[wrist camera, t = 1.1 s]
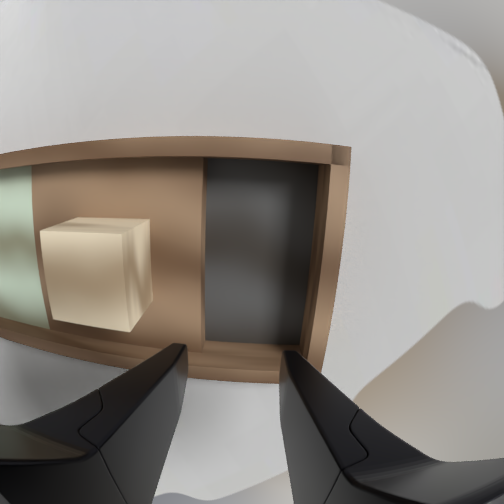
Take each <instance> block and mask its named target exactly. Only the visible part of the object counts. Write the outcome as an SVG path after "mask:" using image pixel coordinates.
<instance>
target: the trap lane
mask: <svg viewBox="0 0 504 504" xmlns="http://www.w3.org/2000/svg"><path fill="white" fill-rule="evenodd" d="M350 161H351V147H348V146H340V145H332V144H323V143H314V142H304V141H293V140H281V139H266V138H248V137H219V136H169V137H140V138H122V139H108V140H97V141H86V142H77V143H68V144H60V145H52V146H45V147H38V148H32V149H26V150H20V151H14V152H9V153H4V154H0V337H1V338H4V339H7V340H11V341H14V342H17V343H20V344H23V345H27V346H30V347H33V348H37V349H40V350H44V351H48V352H52V353H55V354H59V355H63V356H67V357H71V358H76V359H80V360H84V361H89V362H94V363H98V364H103V365H108V366H114V367H119V368H124V369H132V368H133V367H135V366H136V365H138V364H140V363H141V362H143V361H145V360H146V359H148V358H150V357H151V356H153V355H154V354H156V353H158V352H159V351H161V350H162V349H164V348H166V347H167V346H169V345H170V344H172V343H182V344H186V345H187V350H188V376H187V378H196V379H207V380H218V381H232V382H249V383H275V384H279V372H280V364H281V356H282V352H283V351H284V350H295V351H297V352H298V353H299V354H300V355H302V356H303V357H304V358H305V359H306V360H307V361H308V362H309V363H310V364H311V365H312V366H314V367H315V368H316V369H317V370H318V371H319V372H320V373H321V370H322V366H323V361H324V356H325V351H326V346H327V341H328V335H329V330H330V324H331V319H332V313H333V307H334V301H335V295H336V288H337V282H338V275H339V268H340V261H341V253H342V245H343V237H344V228H345V219H346V209H347V199H348V188H349V175H350ZM77 217H81V218H128V219H150V252H151V275H152V292H153V301H152V303H151V304H150V305H149V307H148V308H147V309H146V311H145V312H144V314H143V315H142V316H141V318H140V319H139V321H138V322H137V323H136V325H135V326H134V328H133V329H132V330H131V332H125V331H118V330H111V329H105V328H99V327H93V326H87V325H81V324H76V323H70V322H65V321H60V320H55V319H53V317H52V312H51V307H50V302H49V297H48V291H47V285H46V279H45V272H44V265H43V258H42V249H41V240H40V231H41V230H43V229H46V228H49V227H52V226H54V225H57V224H60V223H63V222H66V221H69V220H71V219H74V218H77Z"/></svg>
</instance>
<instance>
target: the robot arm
mask: <svg viewBox="0 0 504 504" xmlns="http://www.w3.org/2000/svg"><path fill="white" fill-rule="evenodd" d="M187 376H188V350H187V345H186V344H182V343H172V344H170V345H169V346H167V347H166V348H164V349H162V350H161V351H159V352H158V353H156V354H154V355H153V356H151V357H150V358H148V359H146V360H145V361H143V362H141V363H140V364H138V365H136V366H135V367H133V368H132V369H130V370H128V371H127V372H125V373H123V374H122V375H120V376H118V377H117V378H115V379H113V380H112V381H110V382H108V383H107V384H105V385H103V386H102V387H100V388H99V390H98V389H96V390H95V391H93V392H91V393H90V394H88V395H86V396H84V397H82V398H80V399H79V400H77V401H75V402H73V403H71V404H69V405H67V406H64V407H62V408H60V409H58V410H56V411H53V412H51V413H49V414H46V415H44V416H42V417H39V418H37V419H34V420H32V421H30V422H27V423H24V424H21V425H14V426H6V425H0V504H152V500H153V498H154V494H155V491H156V488H157V485H158V482H159V479H160V475H161V472H162V469H163V466H164V463H165V460H166V457H167V454H168V450H169V447H170V444H171V441H172V438H173V435H174V432H175V429H176V426H177V423H178V420H179V416H180V413H181V408H182V403H183V398H184V392H185V387H186V381H187ZM279 396H280V422H281V429H282V435H283V441H284V447H285V453H286V459H287V465H288V471H289V476H290V483H291V488H292V494H293V500H294V504H504V458H499V459H490V460H479V461H464V462H444V461H439V460H435V459H433V458H430V457H429V456H427V455H425V454H423V453H422V452H420V451H419V450H417V449H416V448H414V447H412V446H411V445H409V444H408V443H406V442H405V441H403V440H401V439H400V438H399V437H397V436H395V435H394V434H393V433H391V432H390V431H388V430H387V429H385V428H384V427H382V426H381V425H380V424H379V423H377V422H376V421H375V420H374V419H372V418H371V417H370V416H369V415H368V414H366V413H365V412H364V411H363V410H362V409H359V407H358V406H357V405H356V404H355V403H354V402H353V401H351V400H350V399H349V398H348V397H347V396H346V395H345V394H344V393H342V392H341V391H340V390H339V389H338V388H337V387H336V386H335V385H333V384H332V383H331V382H330V381H329V380H328V379H327V378H326V377H325V376H323V375H322V374H321V373H320V372H319V371H318V370H317V369H316V368H315V367H314V366H312V365H311V364H310V363H309V362H308V361H307V360H306V359H305V358H304V357H303V356H302V355H300V354H299V353H298V352H297V351H295V350H284V351H283V352H282V356H281V364H280V372H279Z"/></svg>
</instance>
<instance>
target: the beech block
mask: <svg viewBox="0 0 504 504" xmlns="http://www.w3.org/2000/svg"><path fill="white" fill-rule="evenodd" d="M40 240H41V249H42V258H43V265H44V272H45V279H46V285H47V291H48V297H49V302H50V307H51V312H52V317H53V319H55V320H60V321H65V322H70V323H76V324H81V325H87V326H93V327H99V328H105V329H111V330H118V331H125V332H131V330H132V329H133V328H134V326H135V325H136V323H137V322H138V321H139V319H140V318H141V316H142V315H143V314H144V312H145V311H146V309H147V308H148V307H149V305H150V304H151V303H152V301H153V292H152V275H151V252H150V219H128V218H81V217H77V218H74V219H71V220H69V221H66V222H63V223H60V224H57V225H54V226H52V227H49V228H46V229H43V230H41V231H40Z"/></svg>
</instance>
